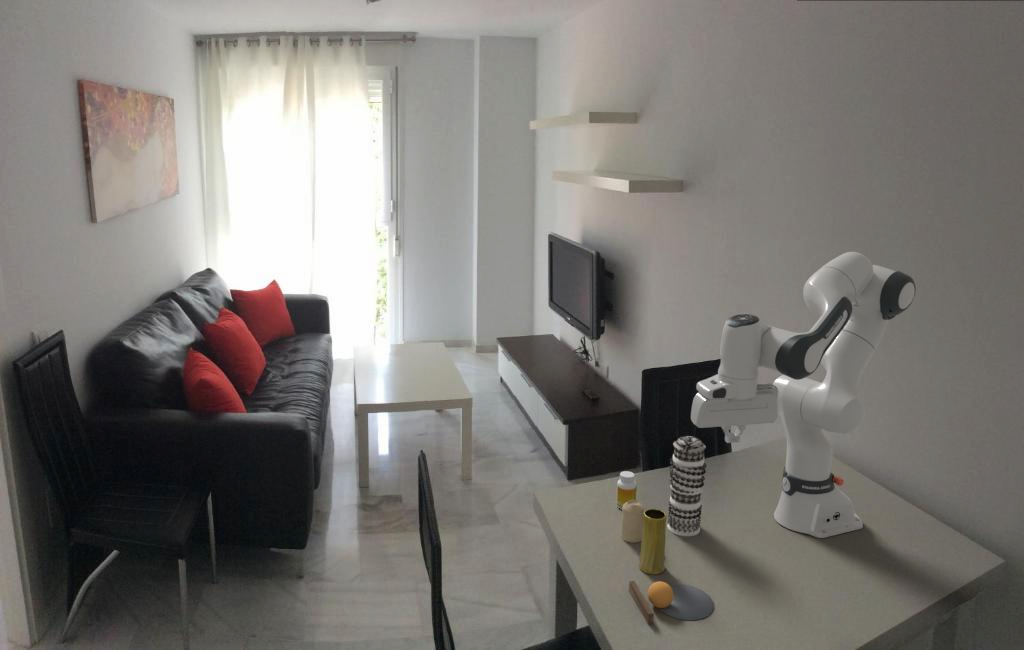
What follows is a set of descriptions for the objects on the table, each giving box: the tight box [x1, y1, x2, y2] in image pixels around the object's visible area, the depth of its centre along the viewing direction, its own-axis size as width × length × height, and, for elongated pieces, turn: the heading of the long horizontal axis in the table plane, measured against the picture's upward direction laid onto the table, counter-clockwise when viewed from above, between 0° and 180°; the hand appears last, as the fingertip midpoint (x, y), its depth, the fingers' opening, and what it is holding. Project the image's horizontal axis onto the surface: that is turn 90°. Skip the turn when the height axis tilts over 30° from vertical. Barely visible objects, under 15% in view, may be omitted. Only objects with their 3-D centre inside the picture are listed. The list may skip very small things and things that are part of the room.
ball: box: [647, 580, 673, 609], centre depth 164 cm, size 6×6×6 cm
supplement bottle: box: [615, 470, 638, 510], centre depth 207 cm, size 5×5×10 cm
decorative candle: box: [666, 435, 707, 537], centre depth 194 cm, size 9×9×25 cm
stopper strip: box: [628, 580, 655, 625], centre depth 164 cm, size 1×12×2 cm, turn 11°
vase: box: [638, 508, 667, 575], centre depth 177 cm, size 6×6×14 cm
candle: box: [620, 499, 645, 544], centre depth 191 cm, size 6×6×10 cm
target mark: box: [658, 583, 715, 621], centre depth 166 cm, size 13×13×1 cm
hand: (732, 441), depth 175 cm, fingers closed
